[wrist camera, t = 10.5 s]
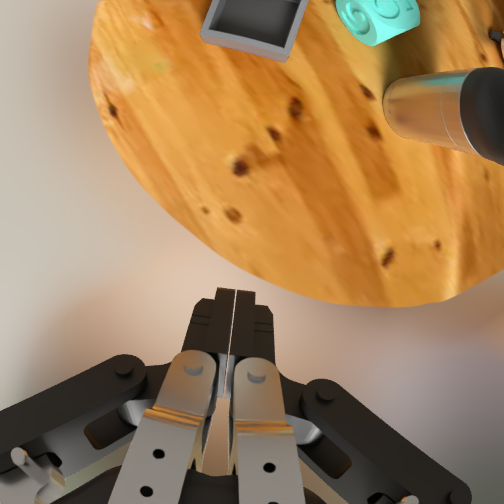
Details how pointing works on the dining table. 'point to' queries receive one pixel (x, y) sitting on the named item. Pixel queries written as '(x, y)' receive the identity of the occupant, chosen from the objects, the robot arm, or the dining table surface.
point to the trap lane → (254, 26)
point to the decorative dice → (378, 18)
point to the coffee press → (498, 39)
